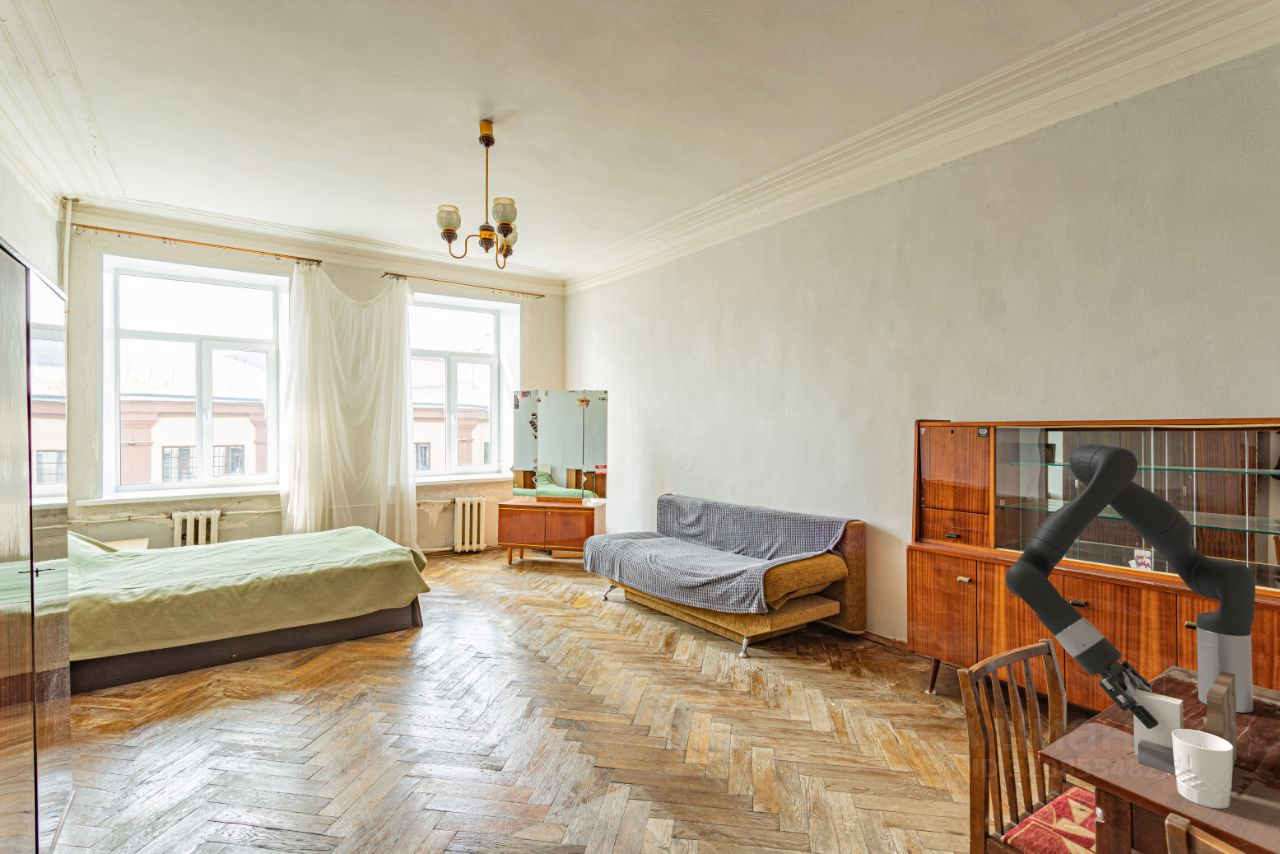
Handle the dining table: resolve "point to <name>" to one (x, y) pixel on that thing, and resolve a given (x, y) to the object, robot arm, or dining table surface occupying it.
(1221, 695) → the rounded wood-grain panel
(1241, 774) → the dining table surface
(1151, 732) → the plain white rectangular block
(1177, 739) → the white cup
